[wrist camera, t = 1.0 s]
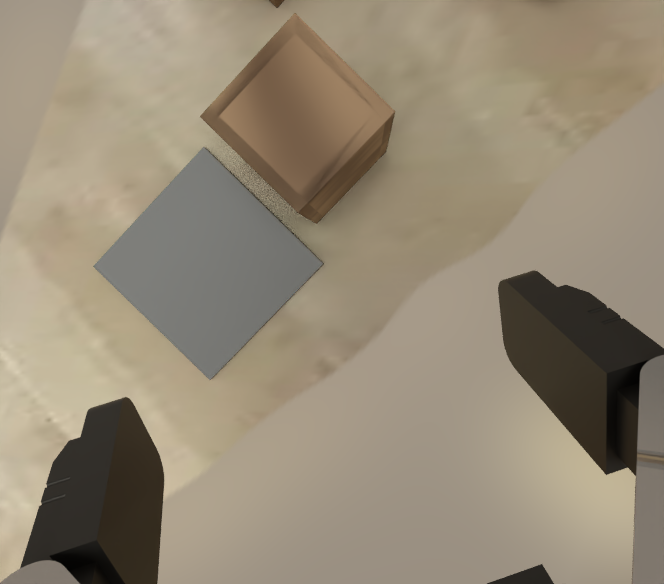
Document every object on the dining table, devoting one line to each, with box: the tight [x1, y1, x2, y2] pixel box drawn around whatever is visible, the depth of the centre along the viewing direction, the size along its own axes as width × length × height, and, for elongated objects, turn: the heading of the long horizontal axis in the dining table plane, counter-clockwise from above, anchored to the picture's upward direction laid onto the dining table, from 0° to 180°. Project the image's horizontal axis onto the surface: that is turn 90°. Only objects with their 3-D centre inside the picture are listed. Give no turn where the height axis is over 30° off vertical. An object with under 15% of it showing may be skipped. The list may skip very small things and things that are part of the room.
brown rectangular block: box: [200, 13, 395, 224], centre depth 30 cm, size 6×6×10 cm
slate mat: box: [93, 147, 324, 380], centre depth 36 cm, size 10×10×1 cm
